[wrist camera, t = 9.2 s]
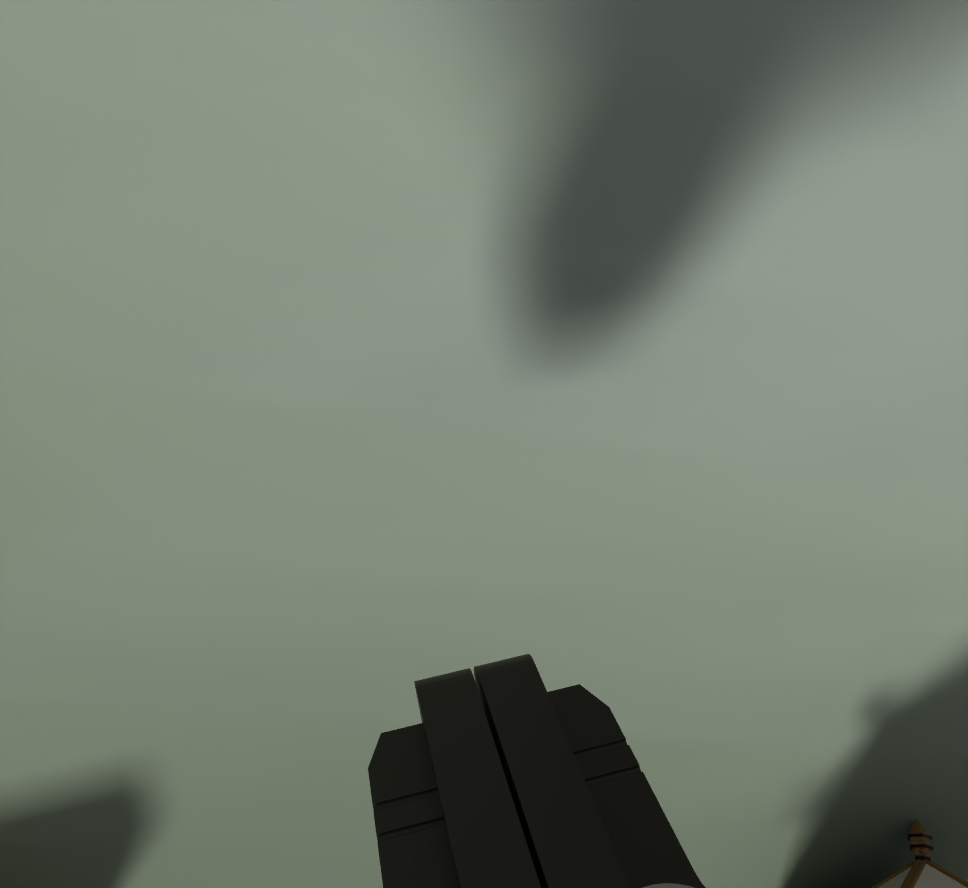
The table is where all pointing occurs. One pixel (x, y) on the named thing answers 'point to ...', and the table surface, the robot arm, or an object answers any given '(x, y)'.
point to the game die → (921, 867)
